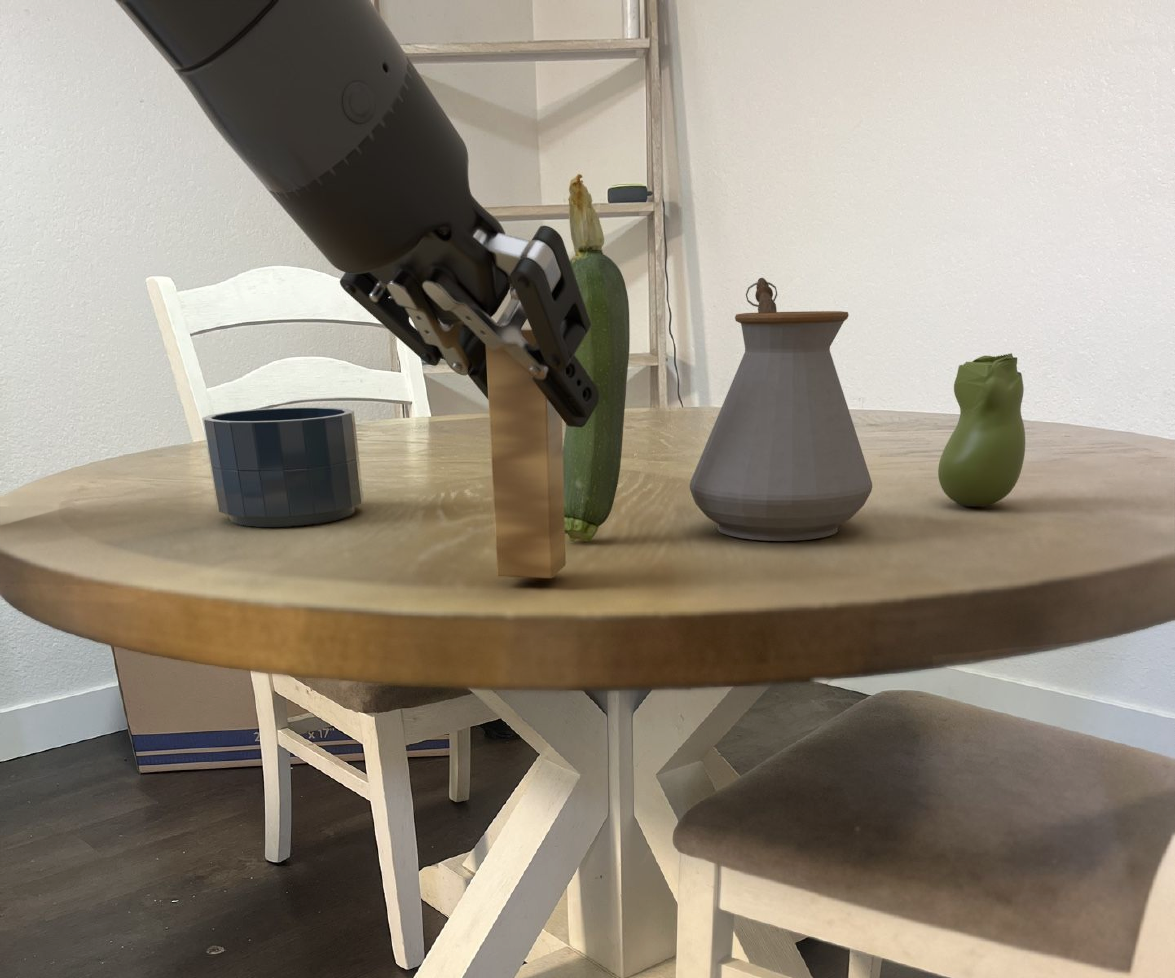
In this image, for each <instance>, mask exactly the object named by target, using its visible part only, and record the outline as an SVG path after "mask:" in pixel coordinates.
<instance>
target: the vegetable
mask: <svg viewBox="0 0 1175 978" xmlns="http://www.w3.org/2000/svg"><path fill="white" fill-rule="evenodd" d="M582 178H583V175H582V174H581V173H578V174H577V175H576V176H575V177H574V178H572V179H571V180H570V181H569V186H568V187H569V188H568V192H569V197H568V198H567V201H568V222H569V230H570V238H571V241H572V245H573V251H574V253H575V254H574V255H573V256H571V257H570V258H569V260H570V263H571V266H572V269H573V272H574V275H575V278H576V281H577V284H578V286H579V289H580V292H581V295H582V298H583V301H584V304H585V307H586V310H587V313H588V316H589V319H590V322H591V327H590V329H589V331H588V332H587V334H586V336H585V337H584V339H583V341H582V342H581V344H580V346H579V347H578V349H577V351H576V352H575V354H574V355H575V356H576V358H577V359H578V361H579V362H580V364H581V365H582V366H583V368H584V369H585V371H586V372H587V374H588V375H589V376H590V378H591V380H592V381H593V382H594V384H595V385H596V387H597V388H598V392H599V401H598V404H597V405H596V407H595V409H594V411H593V412H592V414H591V416H590V417H589V419H588V421H587V422H586V424H585V425H584V426H583V427H570V426H568V425H567V424H566V423H565V431H564V439H563V478H564V520H565V535H566V534H567V536H568V537H569V541H570V542H574V541H576V540H578V541H579V540H580V541H585V542H586V543H590V542H591V541H592V540H593V538H594V537H595V535H596V534H597V532H598V530H599V527H600V526H602V525H603V524H604V523H605V522H606V520H607V519H608V518H609V516H610V514H611V513H612V509H613V505H614V502H615V498H616V493H617V488H618V486H619V485H618V483H619V478H620V471H621V465H622V464H621V463H622V452H623V440H624V439H623V437H624V425H625V424H624V422H625V409H626V399H627V398H626V397H627V380H628V370H629V361H630V345H631V344H630V343H631V341H630V340H631V339H630V336H631V334H630V328H631V327H630V326H631V325H630V304H629V303H630V302H629V296H628V290H627V286H626V282H625V278H624V276H623V274H622V271H621V270H620V268H619V266H618V265H617V264H616V263H615V261H614V260H613V259H611V258H610V257H609V256H607V255H606V254H604V252H603V246H604V244H605V235H604V232H603V228H602V225H601V220H600V217H599V215H598V213H597V212H596V209H595V208H594V206H593V205H592V204H593V203H592V202H593V197H592V195H591V193H590V192H589V191H588V187H587V186H585V185H584V181H583V180H582Z"/></svg>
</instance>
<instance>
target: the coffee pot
mask: <svg viewBox="0 0 1175 978" xmlns="http://www.w3.org/2000/svg"><path fill="white" fill-rule="evenodd" d="M755 286H756V287H755ZM770 286H771V287H770ZM753 287H755V288H756V289H755V290H756V291H755V295H754V296H755V300H756V302H757V303H758V304H756V303H753V302H752V301H751V300H749V297H748V294H749V292H750V289H752V288H753ZM772 288H774V290H775V295H774V291H773V289H772ZM773 296H774V297H773ZM745 297H746V302H747V303H748V304H750V305H751V306H752V307H756V308H757V312H743V313H737V314H735V316H734V320H735V322H737V323H739V324H740V325H741V332H742V338H743V343H744V354H743V355H742V358H741V361H740V363H739V365H738V367H737V370H736V372H735V375H734V377H733V379H732V382H731V383H730V386H729V389H728V391H727V393H726V395H725V398H724V401H723V403H722V405H721V408H720V410H719V413H718V415H717V418H716V420H715V421H714V425H713V427H712V429H711V432H710V434H709V437H708V439H707V441H706V444H705V446H704V448H703V451H702V453H701V456H700V457H699V460H698V463H697V465H696V466H695V469H694V472H693V474H692V477H691V479H690V482H689V491H690V493H691V496H692V498H693V500H694V503H695V505H696V506H697V507H698V509H699V510H700V511H701V512H702V514H703V515H705V516H706V517H707V518H708V519H709V520H711V521H713V522H714V523H716V524H717V525H718V526H717V530H718V531H719V532H720V533H721V534H723V535H727V536H730V537H734V538H738V539H747V540H753V541H755V540H756V541H767V542H770V541H773V542H788V541H789V542H790V541H791V542H792V541H807V540H815V539H822V538H826V537H829V536H830V537H831V536H833V535H835V534H836V533H838V531H839V526H840V525H842V524H843V523H845V522H848V521H849V520H850V519H852V518H853V517H854V516H855V515H856V514H857V513H858V512H859V511H860V510H861V509H862V508H863V507H864V506H865V504H866V503H867V500H868V498H869V497H870V495H871V493H872V491H873V481H872V478H871V475H870V472H869V469H868V465H867V463H866V459H865V455H864V453H863V449H862V447H861V443H860V441H859V438H858V435H857V431H856V429H855V425H854V422H853V418H852V416H851V413H850V409H849V406H848V403H847V400H846V398H845V393H844V392H843V391H844V390H843V388H842V384H841V382H840V377H839V375H838V372H837V368H836V366H835V362H834V360H833V355H832V353H831V346H832V344H833V342H834V341H835V339H836V337H837V335H838V333H839V331H840V329H841V327H842V326H843V324H844V322H845V321H847V320H848V317H849V316H850V315H849V312H848V311H841V310H825V311H824V310H821V311H820V310H819V311H817V310H816V311H815V310H813V311H808V310H807V311H777V304H776V299H777V297H778V290H777V286H775V284H773V283H772V282H770V281H767V280H766V279H765V278H764V277H760V278H758V279H757V281H756V282H754V283H752V284H751V285H749V286H748V287H747V290H746V292H745Z"/></svg>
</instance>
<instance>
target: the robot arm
mask: <svg viewBox="0 0 1175 978" xmlns="http://www.w3.org/2000/svg"><path fill="white" fill-rule="evenodd" d="M114 2H115V3H116V4H117V5H118V6H119V7H120V9H121V10H122V11H123V12H124V13H125V14H126V15H127V17H128V18H129V19H130V20H131V21H132V23H134V25H135V27H137V28H138V30H139V31H140V32H141V33H142V34H143V36H145V38H146V39H147V40H148V41H149V43H150V44H151V45H152V46H153V47H154V49H156V51H157V52H158V53H159V54H160V56H161V57H162V58H163V59H164V60H165V61H166V62H167V64H168V65H169V66H170V67H171V68H172V69H173V71H174V72H175V74H176V75H177V77H178V78H180V80H181V81H182V82H183V84H184V85H185V87H186V88H187V89H188V91H189V93H191V96H192V97H193V98H194V99H195V101H196V102H197V104H198V105H199V107H200V108H201V110H202V112H203V113H204V114H205V116H206V117H207V119H208V120H209V122H210V123H211V124H212V126H213V127H214V128H215V130H216V131H217V132H218V134H219V135H220V136H221V138H223V140H224V141H225V142H226V143H227V145H228V146H229V147H230V148H231V149H232V151H233V152H234V153H235V155H237V157H238V158H239V159H240V160H241V161H242V162H243V164H245V165H246V166H247V168H248V169H249V170H250V171H251V172H252V174H253V175H254V176H255V177H256V179H258V181H259V182H260V183H261V184H262V185H263V186H264V188H265V189H266V190H267V191H268V192H269V194H270V195H271V196H272V197H273V198H274V199H275V201H276V202H277V203H278V204H279V206H280V207H282V209H283V210H284V211H285V212H286V213H287V214H288V216H289V217H290V218H291V219H292V220H293V222H294V223H295V224H296V225H297V226H298V227H299V228H300V230H301V231H302V232H303V234H305V236H306V237H307V238H308V239H309V240H310V241H311V243H312V244H313V245H314V247H316V248H317V250H319V252H320V253H321V254H322V255H323V256H324V258H325V259H326V260H327V261H328V262H329V264H330V265H332V267H334V268H335V269H336V270H339V271H340V272H343V273H344V274H343V275H342V277H341V278H340V280H339V285H340V287H341V288H342V289H343V290H344V291H345V292H346V293H347V294H348V295H349V296H350V297H351V298H353V300H355V301H356V302H357V303H358V304H359V305H360V306H361V307H363V308H364V309H365V310H366V311H367V312H368V313H369V314H370V315H372V316H373V318H375V319H376V320H377V321H378V322H379V323H380V324H381V325H383V326H384V327H385V328H386V329H387V330H388V331H389V332H391V333H392V334H393V335H394V336H395V337H396V338H397V339H398V340H400V341H401V342H402V343H403V344H404V345H405V346H406V347H408V348H409V350H411V351H412V352H413V353H414V354H415V355H417V357H418V358H420V359H421V360H422V361H423V362H425V363H426V364H428V365H431V366H433V367H436V366H438V365H439V363H440V361H441V360H444V361H445V362H446V364H447V365H448V367H449V368H450V369H451V370H452V371H454V372H455V373H456V374H457V375H460V376H468V378H470V380H471V381H472V382H473V383H474V384H475V386H476V387H477V388H478V389H479V391H480V392H481V393H482V394H483V395H484V397H485V398H486V399H487V400H488V382H487V362H486V345H487V346H488V347H489V348H490V349H492V350H499V349H501V348H502V349H505V350H506V351H507V352H508V353H509V354H510V355H511V356H512V357H513V358H514V359H515V360H516V361H517V362H518V363H519V364H520V365H521V366H522V367H523V368H524V369H525V370H526V371H527V372H528V373H529V374H530V375H531V376H533V378H532V379H533V381H534V382H535V383H536V385H537V386H538V387H539V389H540V390H541V391H542V393H543V394H544V395H545V396H546V397H547V399H548V400H549V402H550V403H551V404H552V406H553V407H554V408H555V410H556V411H557V412H558V414H559V415H560V416H561V418H562V421H563V422H564V423H565V425H566V424H567V425H568V426H570V427H583V426H584V425H585V424H586V422H587V421H588V419H589V417H590V416H591V414H592V412H593V411H594V409H595V407H596V405H597V404H598V401H599V392H598V388H597V387H596V385H595V384H594V382H593V381H592V380H591V378H590V376H589V375H588V374H587V372H586V371H585V369H584V368H583V366H582V365H581V364H580V362H579V361H578V359H577V358H576V356H575V355H574V354H575V352H576V351H577V349H578V347H579V346H580V344H581V342H582V341H583V339H584V337H585V336H586V334H587V332H588V331H589V329H590V327H591V322H590V319H589V316H588V313H587V310H586V307H585V304H584V301H583V298H582V295H581V292H580V289H579V286H578V284H577V281H576V278H575V275H574V272H573V269H572V266H571V263H570V257H569V253H568V251H567V247H566V244H565V242H564V239H563V237H562V236H561V234H560V233H559V231H557V230H556V229H554V228H553V227H551V226H549V225H540V226H539V227H538V229H537V230H536V232H535V233H534V235H533V237H532V238H531V239H530V240H528V239H525V238H522V237H517V236H513V235H509V234H506V231H505V230H504V227H503V226H502V224H501V223H500V222H499V220H498V219H497V218H496V217H495V216H493V215H492V214H491V213H490V212H489V211H488V210H487V209H485V207H483V206H482V204H480V203H479V202H478V201H477V199H476V198H475V197H474V196H473V195H472V192H471V189H470V188H471V186H470V179H469V152H468V149H467V146H466V143H465V141H464V140H463V138H462V136H461V135H460V133H459V131H458V130H457V129H456V127H455V125H454V124H453V123H452V121H451V120H450V118H449V117H448V115H447V114H446V112H445V111H444V109H443V107H442V106H441V104H440V103H439V102H438V99H436V97H435V95H434V94H433V93H432V91H431V89H430V88H429V87H428V85H427V84H426V82H425V81H424V79H423V78H422V76H421V75H420V73H419V72H418V70H417V68H416V67H415V65H414V64H413V63H412V60H411V59H410V58H409V56H408V55H407V53H406V52H405V51H404V49H403V48H402V46H401V45H400V43H399V42H398V40H397V38H396V37H395V36H394V33H392V31H391V30H390V28H389V27H388V25H387V23H386V22H385V20H384V19H383V18H382V16H381V14H380V13H379V11H378V9H377V8H376V7H375V5H374V4H373V2H372V0H114ZM508 294H510V299H509V301H508V303H507V305H505V306H506V307H505V308H504V309H503V312H502V313H501V315H500V316H499V318H498V319H497V321H495V320H494V319H493V318H492V317H493V316H495V314H496V313H497V312H498V310H499V309H500V307H501V305H502V304H503V302H504V301H505V299H506V297H507V295H508ZM410 321H411V322H412V323H413V325H412V323H411V322H410ZM526 322H527V323H528V324H529V328H531V329H532V332H533V334H534V336H535V339H536V341H537V342H536V344H535V345H534V347H532V346H531V345H530V344H529V343H528V342H527V341H526V340H525V339H524V338H523V336H522V334H521V328H523V326H524V325H525V323H526Z"/></svg>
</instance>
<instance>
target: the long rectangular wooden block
mask: <svg viewBox="0 0 1175 978" xmlns="http://www.w3.org/2000/svg"><path fill="white" fill-rule="evenodd" d="M521 334H522V336H523V338H524V339H525V340H526V341H527V342H528V343H529V344H530V345H531V346H532V347H534V345H535V344H536V342H537V341H536V339H535V336H534V334H533V332H532V329H531V327H522V328H521ZM486 362H487V382H488V399H487V401H488V416H489V438H490V456H491V457H490V458H491V474H492V475H491V476H492V477H491V478H492V494H493V512H494V514H493V515H494V530H495V531H494V535H495V552H496V572H497V573H496V574H497V576H498V577H508V578H510V577H511V578H530V579H531V578H534V579H553V578H554V577H555V575H557V574H558V573H559V572H560V571H561V570H562V569H563V568H565V566H566V562H567V561H566V534H565V520H564V478H563V446H564V439H563V419H562V418H561V416H560V415H559V414H558V412H557V411H556V410H555V408H554V407H553V406H552V404H551V403H550V402H549V400H548V399H547V397H546V396H545V395H544V394H543V393H542V391H541V390H540V389H539V387H538V386H537V385H536V383H535V382H534V381H533V379H532V378H533V376H531V375H530V374H529V373H528V372H527V371H526V370H525V369H524V368H523V367H522V366H521V365H520V364H519V363H518V362H517V361H516V360H515V359H514V358H513V357H512V356H511V355H510V354H509V353H508V352H507V351H506V350H505V349H502V348H501V349H499V350H492V349H490V348H489V347H488V346H487V345H486Z"/></svg>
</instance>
